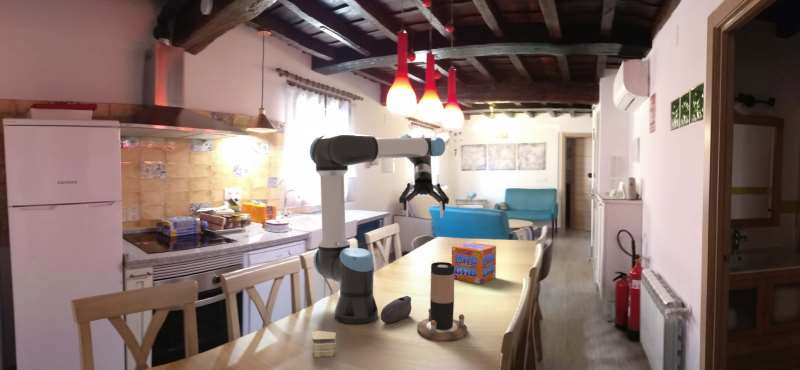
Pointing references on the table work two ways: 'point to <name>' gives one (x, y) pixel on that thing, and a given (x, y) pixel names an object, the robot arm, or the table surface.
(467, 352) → the table surface
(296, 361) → the table surface
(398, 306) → the perforated stone tool
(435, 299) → the travel mug
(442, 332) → the brown round pegged stand
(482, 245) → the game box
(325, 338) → the beige layered block
